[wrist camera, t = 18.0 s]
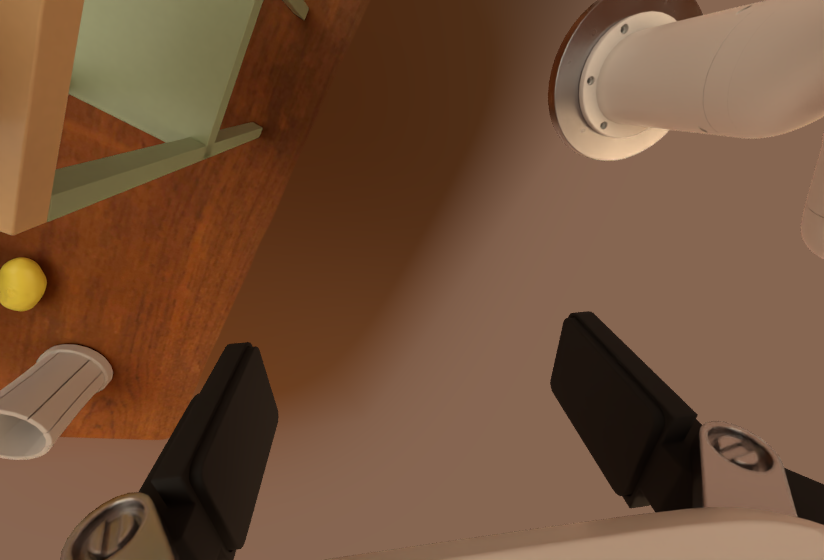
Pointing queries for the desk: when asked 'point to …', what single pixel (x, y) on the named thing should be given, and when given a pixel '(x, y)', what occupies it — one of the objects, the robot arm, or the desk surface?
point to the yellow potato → (21, 284)
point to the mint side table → (114, 92)
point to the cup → (49, 399)
